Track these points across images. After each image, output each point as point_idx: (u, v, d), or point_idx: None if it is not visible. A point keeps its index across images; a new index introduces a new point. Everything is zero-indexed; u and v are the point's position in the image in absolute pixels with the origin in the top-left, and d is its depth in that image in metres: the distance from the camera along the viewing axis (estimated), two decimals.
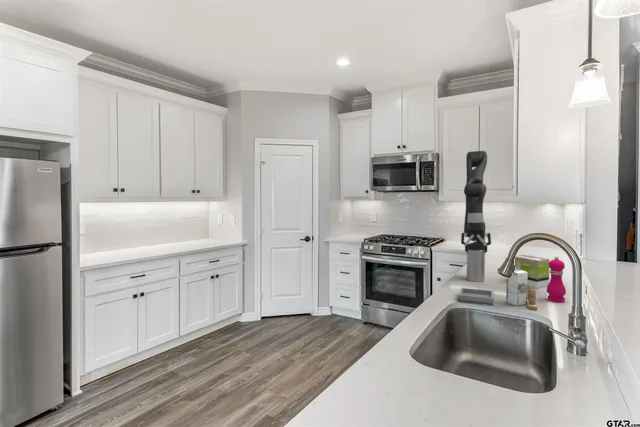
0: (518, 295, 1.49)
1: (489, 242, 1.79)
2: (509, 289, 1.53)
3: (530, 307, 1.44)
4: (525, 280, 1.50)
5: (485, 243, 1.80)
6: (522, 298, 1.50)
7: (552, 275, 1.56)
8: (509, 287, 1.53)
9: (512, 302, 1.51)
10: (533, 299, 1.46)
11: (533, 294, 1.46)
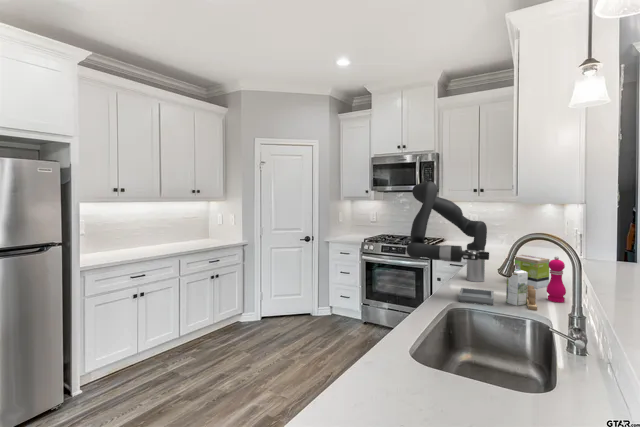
0: (518, 295, 1.49)
1: None
2: (509, 289, 1.53)
3: (530, 307, 1.44)
4: (525, 280, 1.50)
5: None
6: (522, 298, 1.50)
7: (552, 275, 1.56)
8: (509, 287, 1.53)
9: (512, 302, 1.51)
10: (533, 299, 1.46)
11: (533, 294, 1.46)
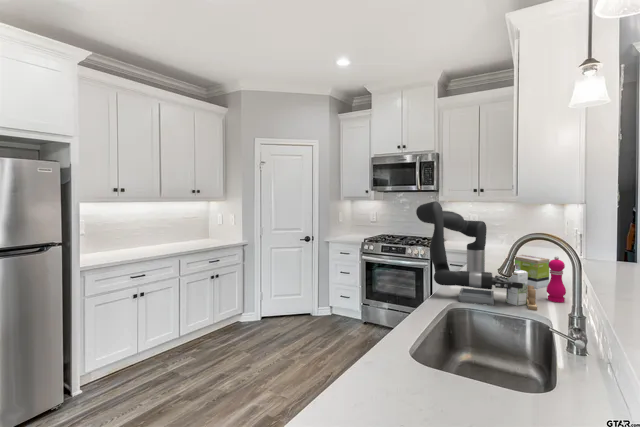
0: (518, 295, 1.49)
1: None
2: (509, 289, 1.53)
3: (530, 307, 1.44)
4: (526, 280, 1.50)
5: None
6: (522, 298, 1.50)
7: (552, 275, 1.56)
8: None
9: (512, 302, 1.51)
10: (533, 299, 1.46)
11: (533, 294, 1.46)
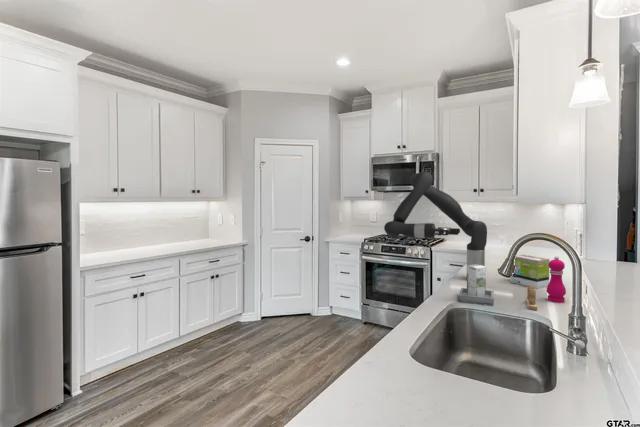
0: (477, 288, 1.56)
1: None
2: (469, 283, 1.60)
3: (530, 307, 1.44)
4: (484, 274, 1.57)
5: None
6: (481, 292, 1.57)
7: (552, 275, 1.56)
8: (469, 281, 1.60)
9: (471, 295, 1.58)
10: (533, 299, 1.46)
11: (533, 294, 1.46)
